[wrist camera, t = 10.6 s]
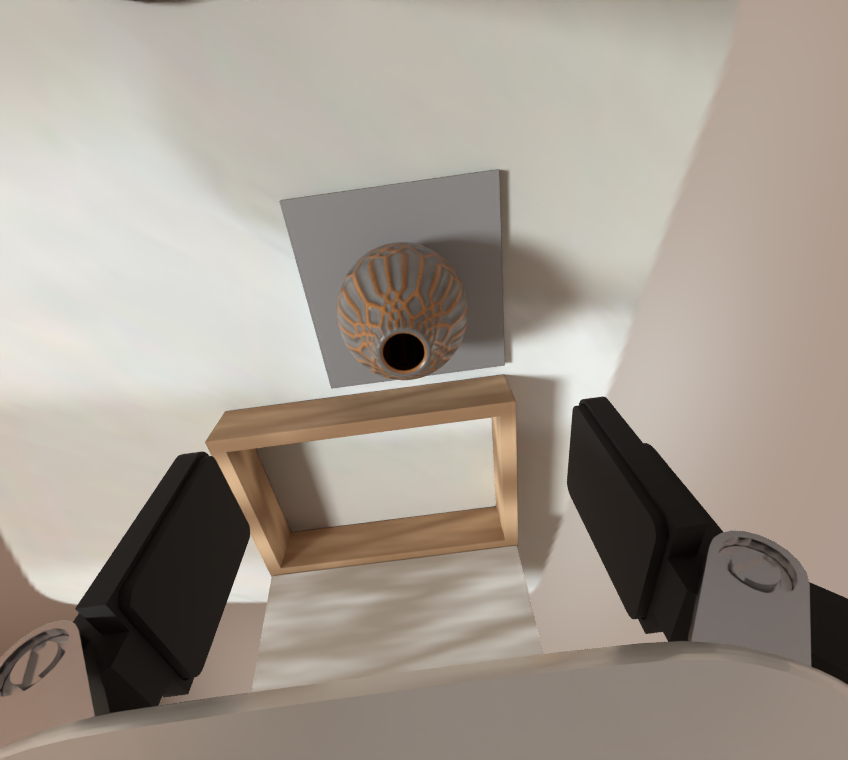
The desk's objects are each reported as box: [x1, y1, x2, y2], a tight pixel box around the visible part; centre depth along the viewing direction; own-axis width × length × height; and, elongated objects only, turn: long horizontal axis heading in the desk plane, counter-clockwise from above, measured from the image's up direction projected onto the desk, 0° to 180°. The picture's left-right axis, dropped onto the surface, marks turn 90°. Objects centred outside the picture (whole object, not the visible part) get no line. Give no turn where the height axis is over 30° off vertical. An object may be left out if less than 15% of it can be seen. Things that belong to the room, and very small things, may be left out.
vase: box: [337, 242, 468, 380], centre depth 21 cm, size 7×7×9 cm
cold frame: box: [205, 375, 543, 692], centre depth 27 cm, size 19×20×17 cm
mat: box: [280, 170, 505, 388], centre depth 25 cm, size 12×12×1 cm
